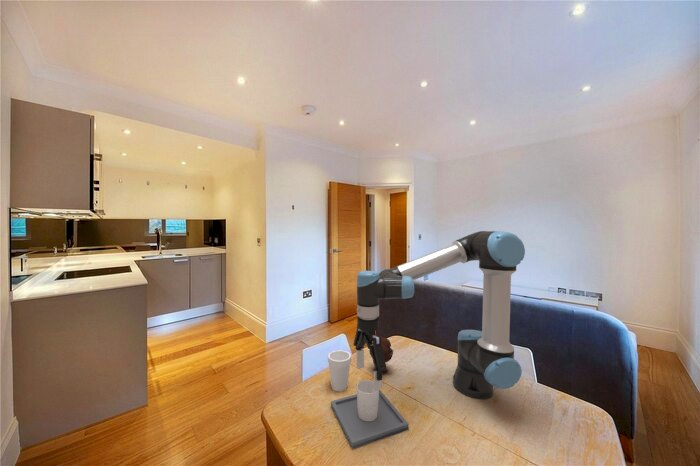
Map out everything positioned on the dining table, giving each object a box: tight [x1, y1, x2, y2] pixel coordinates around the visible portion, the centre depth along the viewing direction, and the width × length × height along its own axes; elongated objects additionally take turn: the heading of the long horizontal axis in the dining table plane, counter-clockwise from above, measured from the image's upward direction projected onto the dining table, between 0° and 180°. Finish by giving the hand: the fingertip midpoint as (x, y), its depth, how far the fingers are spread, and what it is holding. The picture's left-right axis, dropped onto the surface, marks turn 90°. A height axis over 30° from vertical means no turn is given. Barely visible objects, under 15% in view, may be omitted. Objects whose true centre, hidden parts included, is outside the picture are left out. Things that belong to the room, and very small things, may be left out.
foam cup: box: [327, 349, 352, 392], centre depth 107 cm, size 10×9×13 cm
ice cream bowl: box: [368, 337, 394, 375], centre depth 119 cm, size 11×11×15 cm
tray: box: [330, 389, 410, 450], centre depth 90 cm, size 20×20×2 cm
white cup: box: [356, 379, 379, 422], centre depth 90 cm, size 8×8×10 cm
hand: (368, 377), depth 90 cm, fingers open, 13 cm apart
